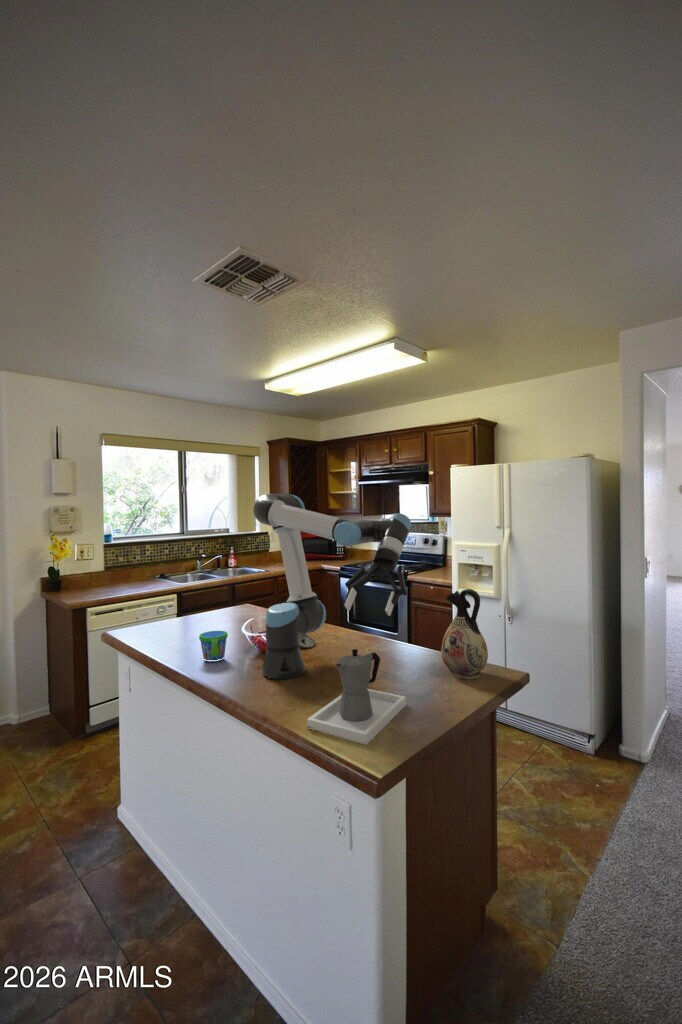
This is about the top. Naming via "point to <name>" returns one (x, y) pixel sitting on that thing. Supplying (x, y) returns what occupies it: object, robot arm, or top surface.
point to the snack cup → (213, 644)
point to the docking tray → (361, 731)
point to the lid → (306, 642)
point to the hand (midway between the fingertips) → (366, 610)
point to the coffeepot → (356, 685)
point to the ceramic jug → (464, 639)
